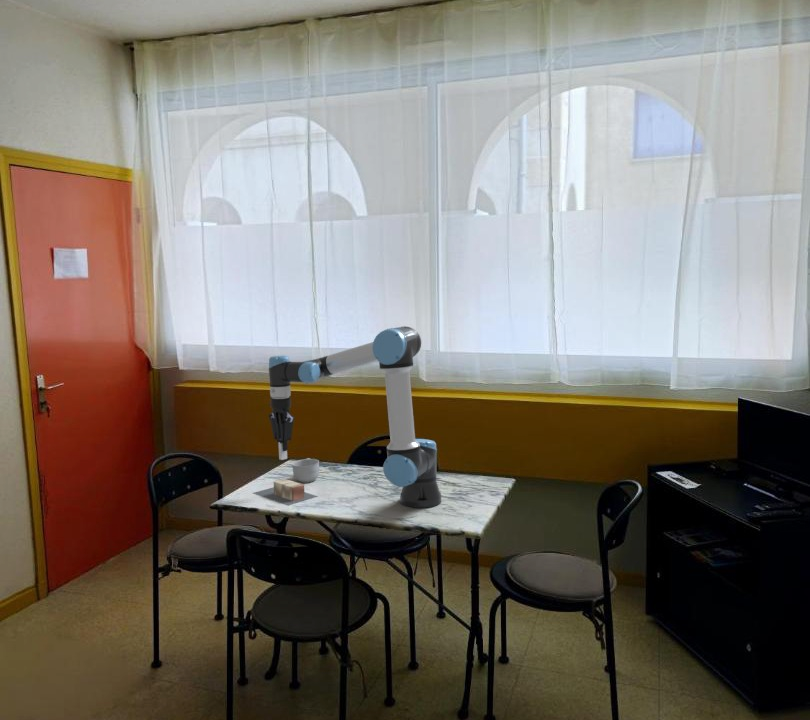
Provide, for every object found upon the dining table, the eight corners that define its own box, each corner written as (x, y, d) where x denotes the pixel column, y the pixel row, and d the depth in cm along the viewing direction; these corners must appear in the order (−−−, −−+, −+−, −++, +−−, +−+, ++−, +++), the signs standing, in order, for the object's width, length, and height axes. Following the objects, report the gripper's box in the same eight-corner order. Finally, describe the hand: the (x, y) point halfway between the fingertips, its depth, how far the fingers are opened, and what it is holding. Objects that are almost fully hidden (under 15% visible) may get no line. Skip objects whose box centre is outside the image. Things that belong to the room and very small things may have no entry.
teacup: (314, 485, 270) (314, 465, 270) (288, 484, 272) (288, 464, 271) (325, 475, 284) (324, 456, 283) (300, 474, 286) (299, 456, 285)
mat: (318, 497, 255) (318, 496, 255) (288, 506, 245) (288, 505, 245) (282, 485, 270) (282, 484, 270) (252, 494, 260) (252, 493, 260)
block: (284, 491, 262) (304, 497, 254) (274, 494, 258) (293, 501, 250) (284, 478, 261) (304, 484, 253) (273, 481, 257) (293, 487, 249)
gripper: (261, 396, 256) (264, 458, 258) (283, 400, 247) (285, 463, 249) (278, 394, 261) (280, 454, 264) (299, 397, 252) (302, 459, 255)
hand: (283, 458), depth 256 cm, fingers closed
